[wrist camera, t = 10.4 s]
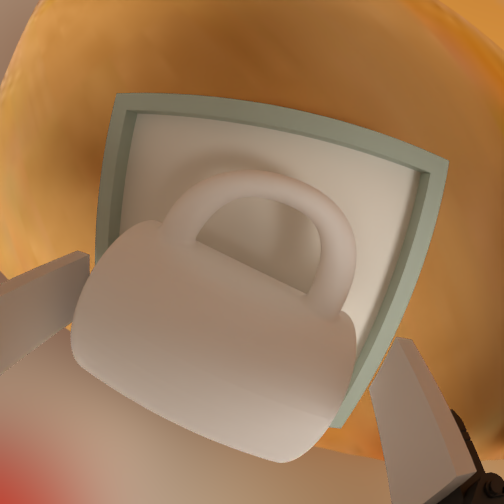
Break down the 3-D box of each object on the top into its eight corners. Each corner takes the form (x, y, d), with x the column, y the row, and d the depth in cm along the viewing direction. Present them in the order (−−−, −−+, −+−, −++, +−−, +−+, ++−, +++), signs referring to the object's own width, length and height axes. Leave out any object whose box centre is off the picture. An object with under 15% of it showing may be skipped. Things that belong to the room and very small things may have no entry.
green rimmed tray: (401, 164, 18) (449, 160, 11) (333, 369, 23) (340, 428, 16) (168, 114, 19) (116, 93, 12) (143, 318, 24) (100, 359, 18)
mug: (277, 386, 17) (262, 488, 9) (141, 319, 17) (68, 393, 10) (379, 222, 13) (458, 272, 6) (205, 139, 14) (117, 108, 6)
